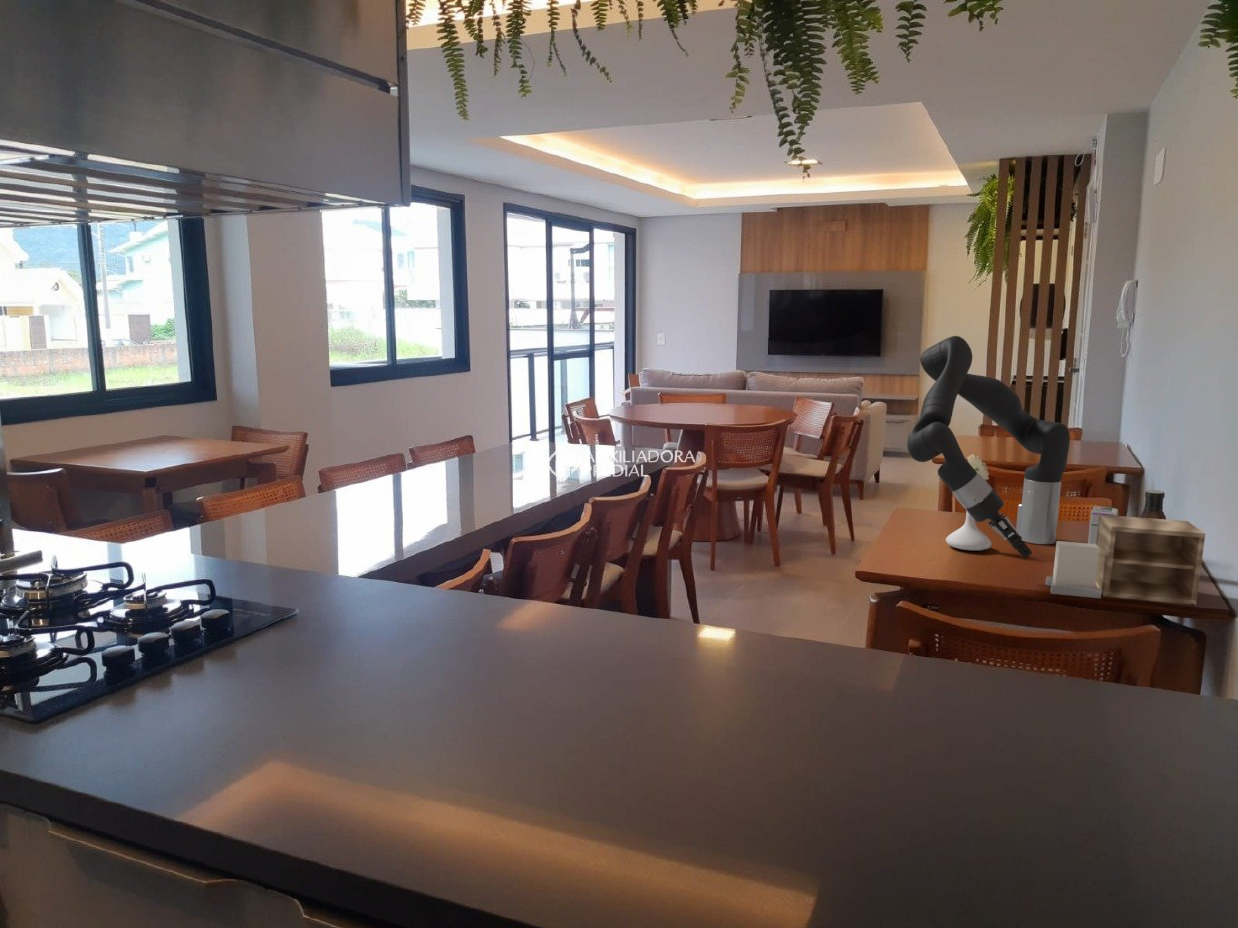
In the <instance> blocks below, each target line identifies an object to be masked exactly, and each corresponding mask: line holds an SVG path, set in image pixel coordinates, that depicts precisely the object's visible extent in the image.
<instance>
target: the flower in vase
mask: <svg viewBox="0 0 1238 928" xmlns="http://www.w3.org/2000/svg"><path fill="white" fill-rule="evenodd" d="M967 461H968V462H969V464H970V465H971V466H972V467H973V468H974V469H975V471H976V472H977V473H978V474H979V475H980V476H981V477H983V478H984V479H985V480H986V481H987V480H989V479H990V477H989V475H990V471H988V470H989V469H988V467H987V463H985V462H983V460H982V459H980V456H978V455H975V454H974V453H973V454H972V453H971V455H968V456H967ZM965 510H966V509H965ZM965 514H966V516H965V521H964V524H963V525H962V526H961V527H959V528H957V529H956V530H954V531H953V532H952V533H949V535H947V536H946V538H945V541H946V544H947V545H949V546H951V547H952V548H956V549H959V550H962V551H972V552H973V551H985V550H988V549H990V548H991V546H992V545H993V544H992V541H991V540H990V539H989V537H988V536H986V534H985V533H984V532H982V531H981V530H980V529H979V528H978V527H977V524H976V521H975V520H974V519H973V517H972V516H971V515H970V514H969V513H968V512H967V510H966V513H965Z"/></svg>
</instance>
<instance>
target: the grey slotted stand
mask: <svg viewBox="0 0 1238 928" xmlns="http://www.w3.org/2000/svg"><path fill="white" fill-rule="evenodd" d="M1045 579H1046V580H1045V585H1046V586H1047V587H1050V594H1051V595H1052V594H1053V595H1060V596H1061V595H1062V596H1072V597H1082V598H1093V599H1102V593H1101V591H1102V590H1101V589H1099V588H1097V587H1095V588H1088V587H1078V586H1067V585H1057V584H1052V581H1053V576H1050V575H1049V576H1048V575H1047V576H1046V578H1045Z"/></svg>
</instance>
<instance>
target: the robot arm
mask: <svg viewBox="0 0 1238 928" xmlns="http://www.w3.org/2000/svg"><path fill="white" fill-rule="evenodd" d="M919 357H920V358H919V362H920V366H921V367H922V369H923V371H924V372H925V373H926V374H927V375H928V376H929V377H930V378H931V379H933V381H934V382H933V385H932V386H931V387H930V389H929V390H928V391H927V393H926V395H925V397H924V400H923V402H922V406H921V410H920V413H919V414H920V415H919V418H917V420H916V422H915V423H914V426H913V428H912V429H911V431H910V433H909V435H908V438H907V442H906V444H907V445H906V446H907V452H908V453H909V456H910V457H911V458H912V459H913V460H914V461H916V462H919V463H925V462H929V461H931V460H933V459H934V458H937V457H938V456H940V455H941V454H942V456H943V457H944V462H943V463H942V464H941V465H940V466H939V468H938V469H937V476H938V477H939V478H940V480H941V481H942V483H944V485H946V487H948V489H949V490H950V491H951V492H952V494H953V495H954V496H955V499H956V500H957V501H958V503H960V504H961V506H962V507H963V508H964V509H965V510H967V512H968V513H969V514H970V515H971V516H972V517H973V519H974V520H975V523H976V522H977V523H982V522H985V521H986V520H988V521H989V522H988V523H987V524H988V526H990V527H991V528H992V529H993V530H994V532H996V533H997V535H1000V537H1001V538H1002V539H1003V540H1006V541H1007V542H1008V543H1009V545H1011V547H1013V549H1014V550H1016V551H1017V552H1018V553H1019V555H1020V556H1022V558H1024V559H1026V558H1028V557H1029V556H1031V555H1032V554H1033V552H1032V550H1031V549H1030V548H1029V546H1028V545H1027V544H1026V543H1029V544H1036V545H1051V544H1056V537H1057V527H1058V518H1059V509H1060V508H1059V507H1060V498H1061V489H1062V481H1063V480H1062V478H1063V476H1064V473H1065V471H1066V469H1067V468H1066V467H1067V461H1068V457H1069V456H1068V455H1069V450H1070V441H1071V434H1070V431H1069V428H1068V427H1067V425H1065V424H1063V423H1061V422H1057V421H1056V422H1054V421H1050V420H1043V419H1038V418H1036V417H1034V416H1032V415H1031V414H1030V413H1028V412H1027V411H1025V410H1024V409H1023V407H1022V401H1021V399H1020V397H1019V395H1018V394H1017V393H1016V392H1015V391H1014V390H1013V389H1012V388H1010V386H1008V385H1006V383H1004V382H1003V381H1001V380H999V379H997V378H994V377H990V376H985V375H978V374H971V373H968V372H969V371H970V369H971V366H972V362H973V351H972V349H971V347H970V345H969V343H968V342H967V341H966V340H965V339H964V338H963V337H961V336H959V335H951V336H949V337H947V338H945V339H943V340H941V341H939V342H937V343H935V344H933V345H931V346H930V347H928V348H926V349H925V350H924V351H922V353H921V355H920V356H919ZM958 396H960V397H961V398H962V399H964V400H965V401H967V402H968V403H969V404H970V405H972V406H973V407H974V408H975V409H976V410H978V412H979V413H980V412H981V414H983V415H984V416H985V417H987V418H988V419H990V420H991V421H992V422H994V423H996V424H997V425H998V426H1000V427H1001V428H1002V429H1004V430H1005V431H1006V432H1008V433H1009V434H1010V435H1011V436H1012V437H1013V438H1014V439H1015V440H1016V441H1017V442H1018V443H1019V444H1020V446H1021V447H1022V448H1024V449H1025V450H1027V452H1030V453H1033V454H1038V455H1040V457H1039V462H1038V463H1037V464H1035V465H1032V466H1027V468H1025V470H1024V475H1023V476H1024V477H1023V479H1024V480H1023V489H1022V497H1021V498H1022V500H1021V503H1019V504H1018V507H1017V518H1016V526H1014V525H1013V524H1012V523H1011V522H1010V519H1009V518H1008V517H1007V516H1006V515H1005V514H1004V513H1003V512H1002V513H999V511H1000V510H1001V509H1002V508H1003V507H1004V505H1005V502H1004V500H1003V499H1002V497H1000V495H999V494H998V493H997V492H996V491H995V490H994V489H993V488H992V486H991V485H990V484H989V482H988V481H987V480H985V479H984V478H983V477H981V476H980V475H979V474H978V473H977V472H976V471H975V469H974V468H973V467H972V466H971V465H970V464H969V462H968V459H966V457H965V455H964V454H963V451H962V449H961V447H960V445H959V443H958V440H957V438H956V436H955V434H954V431H952V429H951V428H950V427H949V426H950V424H951V423H952V417H953V412H954V408H955V404H956V403H955V402H956V399H957V397H958ZM1025 542H1026V543H1025Z"/></svg>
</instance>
